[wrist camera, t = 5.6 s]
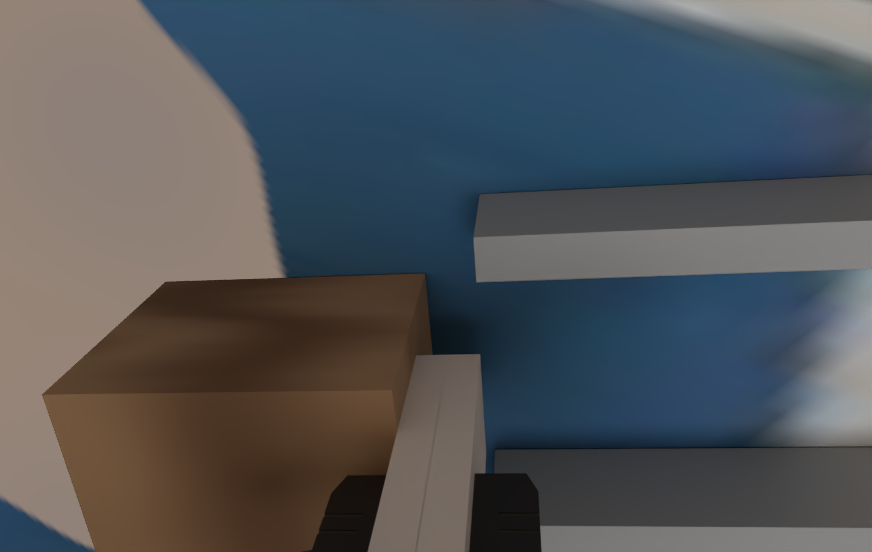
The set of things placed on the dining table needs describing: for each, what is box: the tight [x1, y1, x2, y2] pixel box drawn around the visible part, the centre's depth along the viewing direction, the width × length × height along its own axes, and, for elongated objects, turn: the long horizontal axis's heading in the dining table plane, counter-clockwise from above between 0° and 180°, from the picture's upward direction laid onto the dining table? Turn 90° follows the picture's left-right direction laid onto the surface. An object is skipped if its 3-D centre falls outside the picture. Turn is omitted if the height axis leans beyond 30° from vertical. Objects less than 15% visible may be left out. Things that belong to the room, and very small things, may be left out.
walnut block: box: [42, 273, 433, 552], centre depth 17 cm, size 7×4×6 cm, turn 94°
